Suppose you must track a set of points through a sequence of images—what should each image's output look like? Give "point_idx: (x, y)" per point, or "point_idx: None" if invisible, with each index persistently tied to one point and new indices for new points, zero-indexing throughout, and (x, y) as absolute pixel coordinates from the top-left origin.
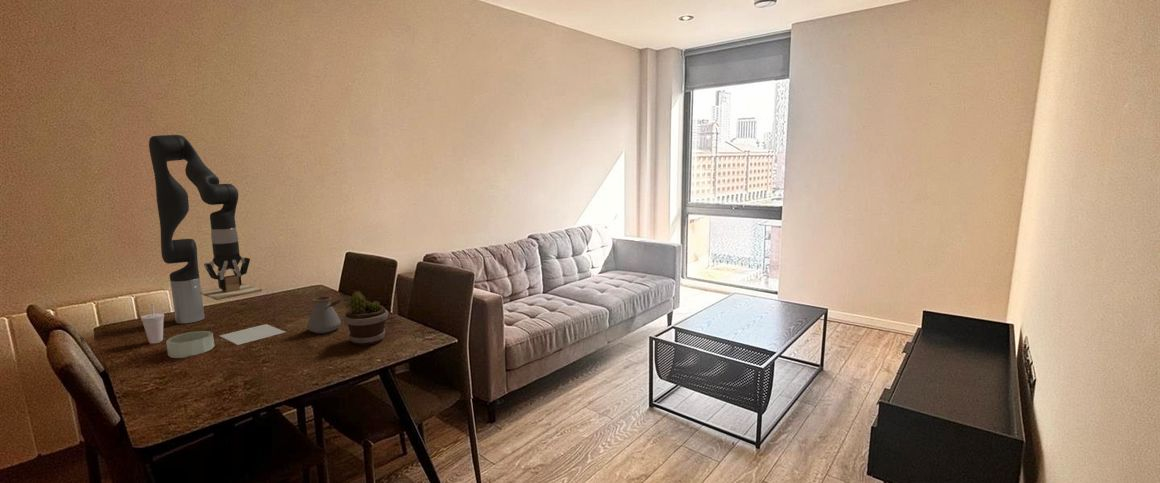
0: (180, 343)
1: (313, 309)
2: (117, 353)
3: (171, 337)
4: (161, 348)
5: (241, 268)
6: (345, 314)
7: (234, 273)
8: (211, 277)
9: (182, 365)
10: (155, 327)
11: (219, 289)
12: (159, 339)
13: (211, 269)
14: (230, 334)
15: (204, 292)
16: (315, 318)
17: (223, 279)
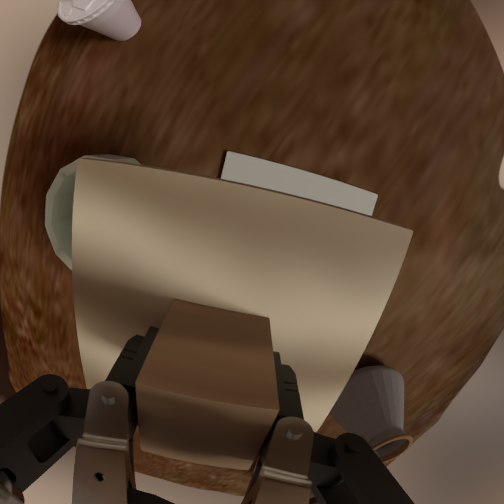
0: (58, 256)
1: (364, 427)
2: (47, 55)
3: (65, 168)
4: (93, 102)
5: (350, 488)
6: (314, 496)
7: (268, 451)
8: (41, 389)
9: (68, 290)
10: (92, 29)
11: (190, 232)
12: (120, 38)
13: (13, 481)
14: (252, 177)
15: (82, 219)
16: (344, 423)
17: (137, 421)
